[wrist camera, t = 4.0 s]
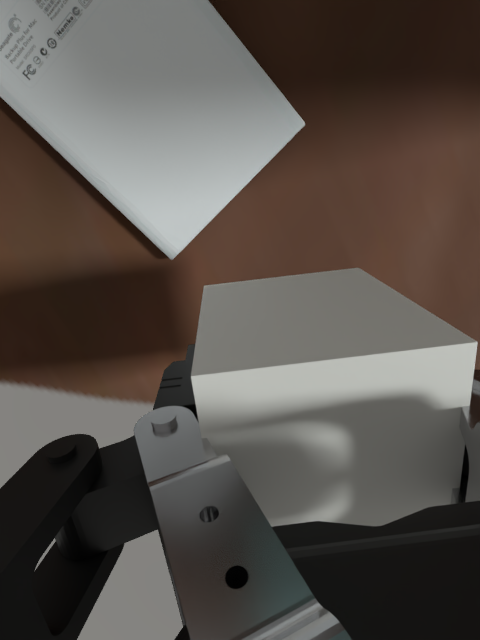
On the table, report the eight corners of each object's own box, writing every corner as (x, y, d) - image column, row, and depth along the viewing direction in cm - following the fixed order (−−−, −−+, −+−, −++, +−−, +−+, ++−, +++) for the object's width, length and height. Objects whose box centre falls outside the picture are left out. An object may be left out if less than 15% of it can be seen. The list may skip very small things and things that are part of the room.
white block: (358, 267, 12) (477, 342, 7) (358, 401, 14) (452, 550, 8) (203, 285, 12) (190, 376, 7) (223, 417, 14) (225, 578, 8)
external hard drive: (174, 255, 19) (-60, 30, 15) (299, 128, 17) (74, -156, 13) (170, 262, 17) (-91, 12, 13) (308, 122, 16) (56, -200, 12)
